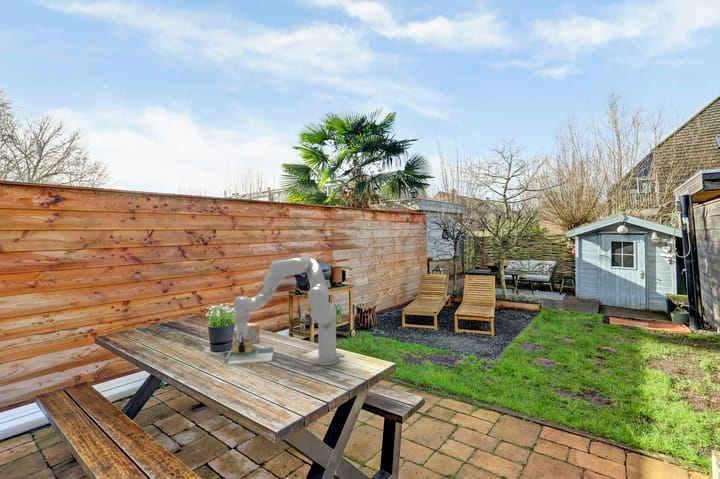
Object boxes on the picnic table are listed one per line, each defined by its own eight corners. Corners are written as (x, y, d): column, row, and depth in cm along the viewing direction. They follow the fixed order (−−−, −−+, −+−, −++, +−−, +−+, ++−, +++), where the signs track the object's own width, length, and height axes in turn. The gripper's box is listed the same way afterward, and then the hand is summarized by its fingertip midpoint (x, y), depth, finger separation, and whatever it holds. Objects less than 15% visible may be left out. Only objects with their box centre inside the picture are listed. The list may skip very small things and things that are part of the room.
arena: (273, 352, 199) (273, 347, 199) (271, 361, 185) (271, 355, 185) (230, 355, 194) (230, 350, 194) (225, 364, 181) (225, 358, 181)
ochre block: (234, 350, 192) (233, 339, 192) (252, 349, 194) (252, 338, 194) (232, 353, 187) (232, 342, 187) (251, 352, 189) (251, 341, 189)
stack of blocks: (223, 344, 216) (223, 325, 216) (228, 341, 222) (227, 322, 222) (256, 344, 215) (255, 325, 214) (259, 341, 221) (259, 322, 221)
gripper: (237, 315, 198) (238, 346, 198) (232, 322, 181) (232, 356, 182) (251, 314, 200) (251, 345, 200) (247, 321, 183) (247, 355, 183)
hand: (242, 350), depth 191 cm, fingers closed on ochre block, 5 cm apart
